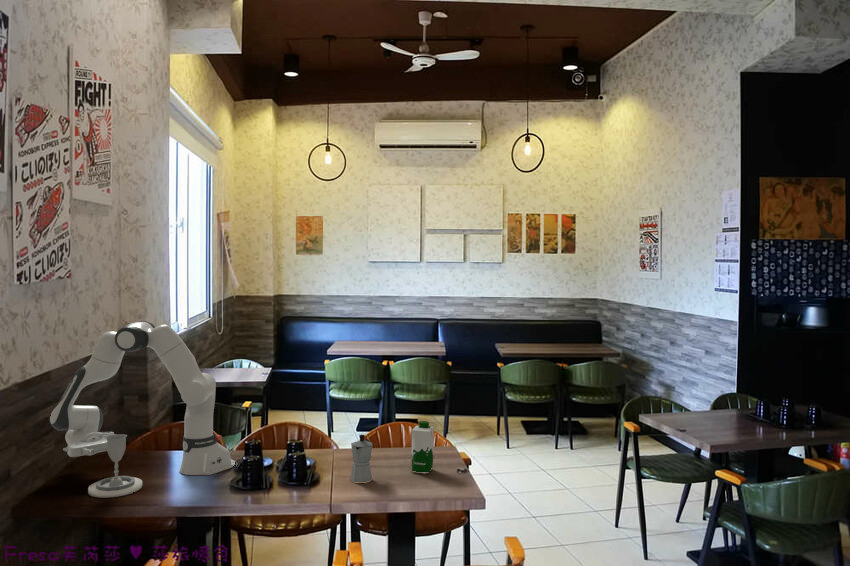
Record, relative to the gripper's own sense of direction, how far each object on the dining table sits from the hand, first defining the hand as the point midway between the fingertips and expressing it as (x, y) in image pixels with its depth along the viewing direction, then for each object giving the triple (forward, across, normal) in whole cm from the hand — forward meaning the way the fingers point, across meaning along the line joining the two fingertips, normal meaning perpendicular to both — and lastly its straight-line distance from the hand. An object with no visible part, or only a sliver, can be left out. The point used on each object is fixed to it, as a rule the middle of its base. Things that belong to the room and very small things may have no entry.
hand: (105, 450), depth 233 cm
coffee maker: (+68, +70, +12) cm, 99 cm away
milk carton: (+79, +94, +12) cm, 124 cm away
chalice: (+9, 0, +11) cm, 14 cm away
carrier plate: (+9, 0, +13) cm, 16 cm away
